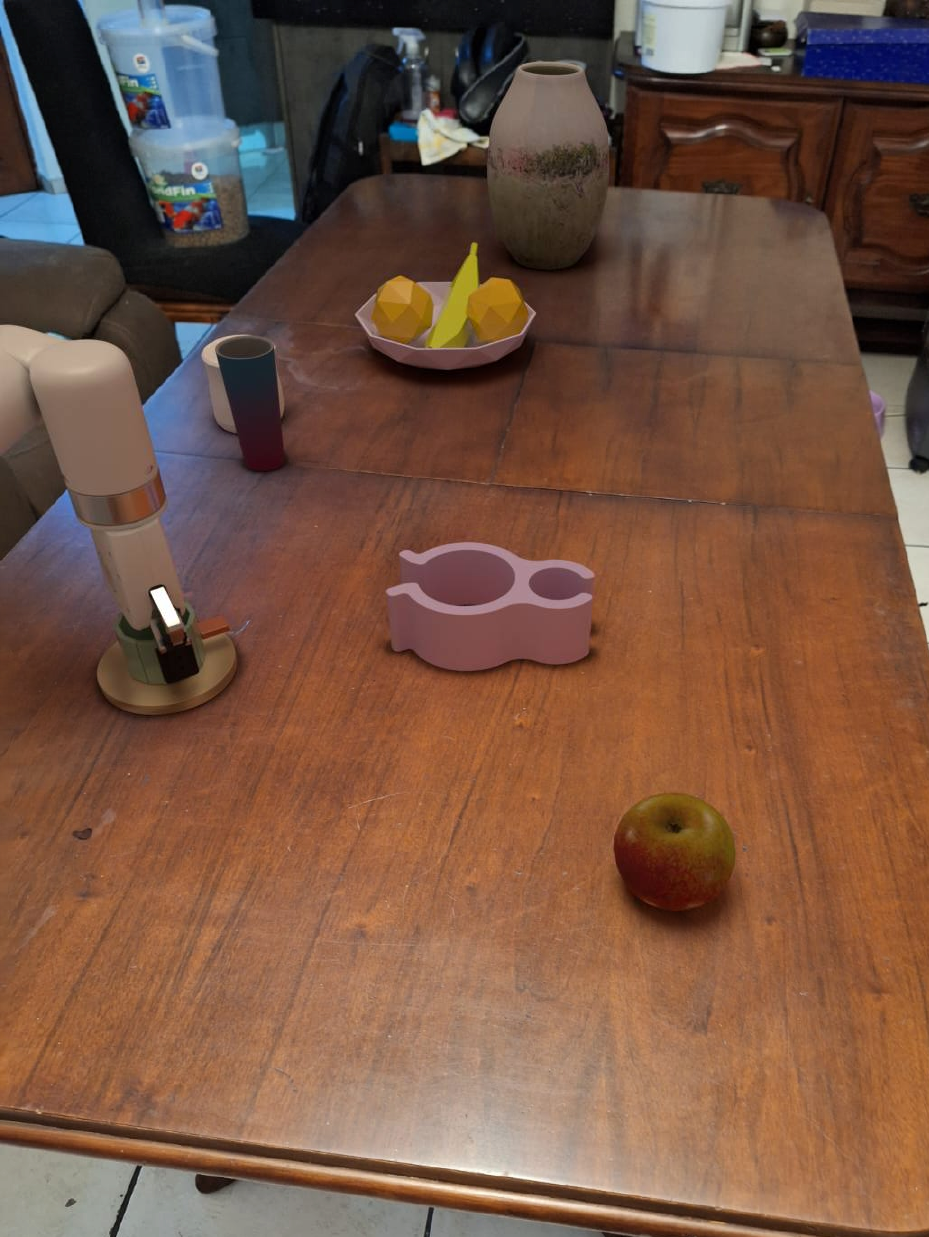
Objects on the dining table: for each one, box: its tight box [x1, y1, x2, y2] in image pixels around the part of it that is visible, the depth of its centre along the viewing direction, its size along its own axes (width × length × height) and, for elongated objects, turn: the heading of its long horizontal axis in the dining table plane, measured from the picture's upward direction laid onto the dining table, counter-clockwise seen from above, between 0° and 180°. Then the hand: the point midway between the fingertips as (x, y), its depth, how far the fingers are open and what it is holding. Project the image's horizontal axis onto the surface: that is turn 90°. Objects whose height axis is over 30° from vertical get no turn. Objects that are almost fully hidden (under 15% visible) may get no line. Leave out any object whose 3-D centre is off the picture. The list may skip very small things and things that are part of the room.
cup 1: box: [200, 334, 286, 434], centre depth 136 cm, size 10×10×10 cm
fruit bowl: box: [354, 241, 537, 371], centre depth 154 cm, size 28×27×11 cm
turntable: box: [96, 622, 238, 716], centre depth 100 cm, size 13×13×1 cm
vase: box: [486, 61, 610, 271], centre depth 178 cm, size 21×21×30 cm
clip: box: [385, 541, 595, 672], centre depth 103 cm, size 20×12×7 cm, turn 85°
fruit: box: [613, 792, 736, 912], centre depth 80 cm, size 10×9×8 cm
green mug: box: [113, 600, 231, 684], centre depth 98 cm, size 10×7×5 cm
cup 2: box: [215, 334, 286, 472], centre depth 126 cm, size 7×7×15 cm
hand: (165, 649), depth 98 cm, fingers open, 9 cm apart
